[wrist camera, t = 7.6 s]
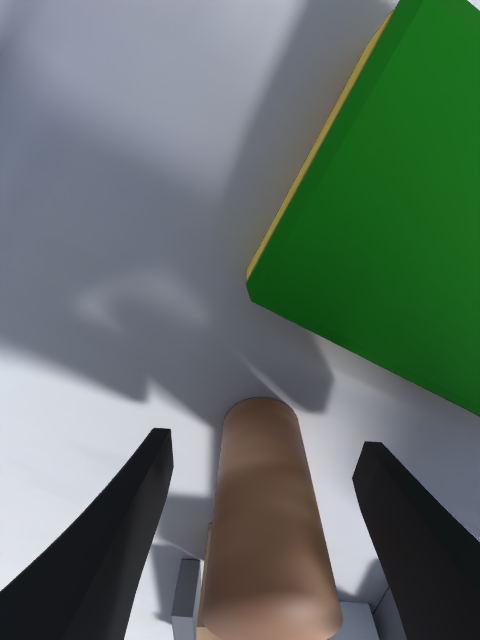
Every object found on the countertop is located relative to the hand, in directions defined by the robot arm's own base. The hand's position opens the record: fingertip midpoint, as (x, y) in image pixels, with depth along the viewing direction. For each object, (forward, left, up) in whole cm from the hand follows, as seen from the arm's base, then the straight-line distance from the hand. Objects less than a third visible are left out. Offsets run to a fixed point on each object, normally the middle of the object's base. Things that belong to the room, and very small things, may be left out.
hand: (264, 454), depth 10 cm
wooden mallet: (0, +6, -2) cm, 6 cm away
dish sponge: (-6, -7, -3) cm, 10 cm away
